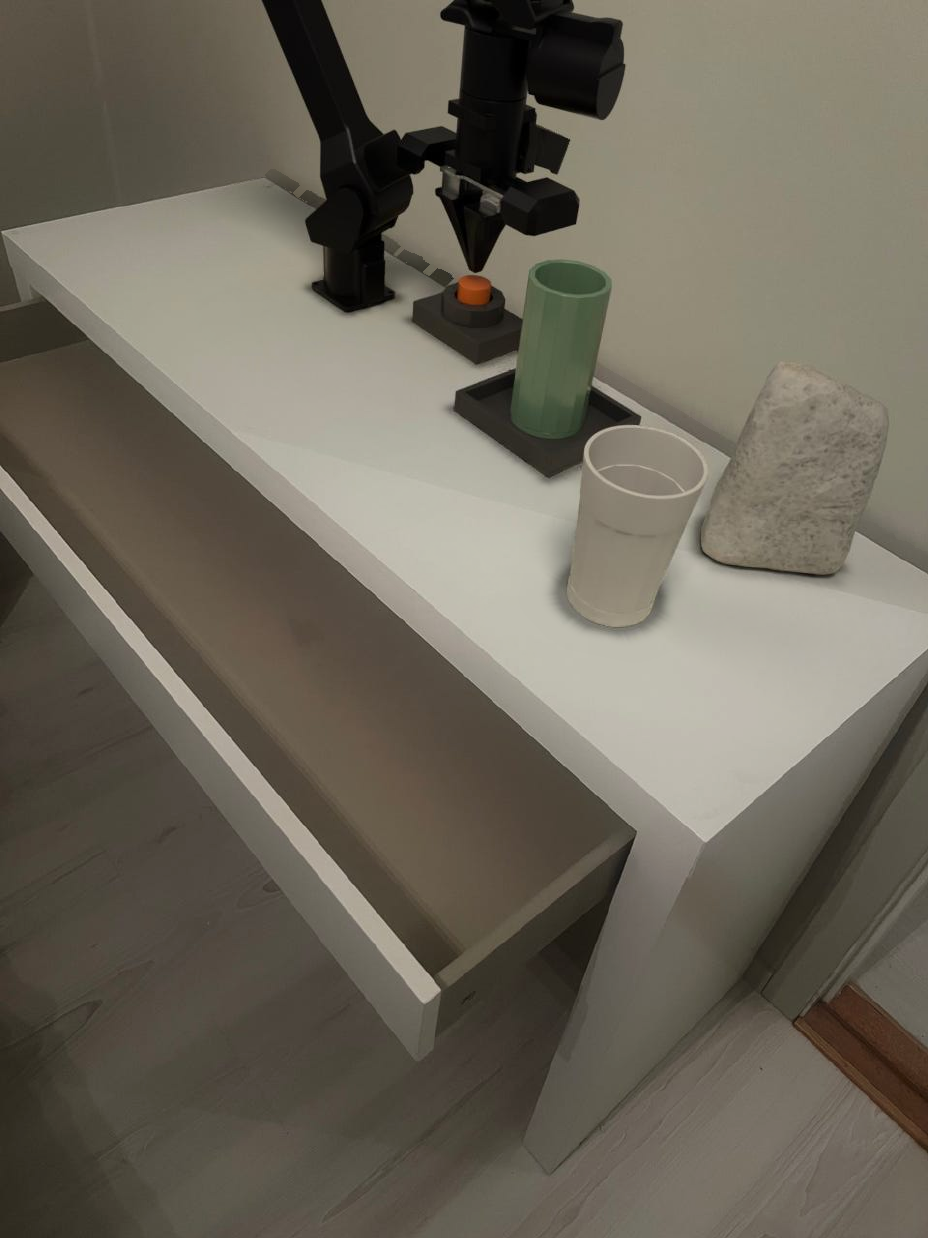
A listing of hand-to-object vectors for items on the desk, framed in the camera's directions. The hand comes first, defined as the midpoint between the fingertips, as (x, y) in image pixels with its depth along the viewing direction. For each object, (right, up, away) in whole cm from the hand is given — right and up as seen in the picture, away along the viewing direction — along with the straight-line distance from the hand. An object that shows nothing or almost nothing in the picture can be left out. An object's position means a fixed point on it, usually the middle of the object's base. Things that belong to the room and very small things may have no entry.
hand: (475, 270), depth 89 cm
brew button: (0, -2, +2) cm, 3 cm away
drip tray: (+6, -16, -6) cm, 18 cm away
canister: (+6, -15, -6) cm, 18 cm away
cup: (+9, -32, -21) cm, 40 cm away
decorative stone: (+23, -28, -16) cm, 40 cm away
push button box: (-1, -5, +4) cm, 7 cm away
